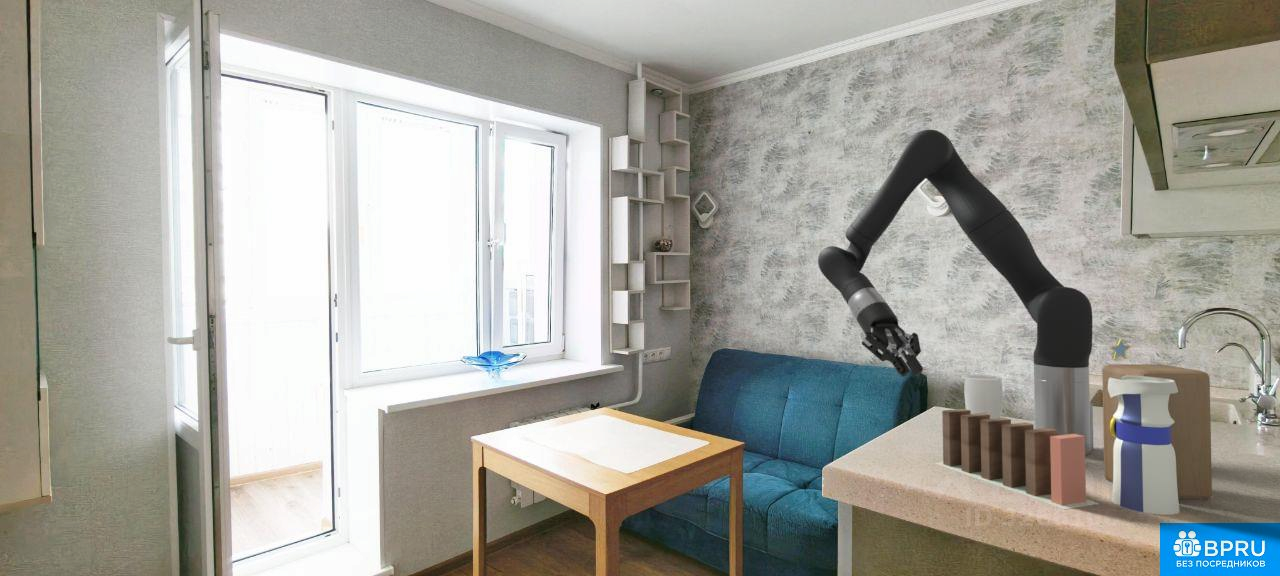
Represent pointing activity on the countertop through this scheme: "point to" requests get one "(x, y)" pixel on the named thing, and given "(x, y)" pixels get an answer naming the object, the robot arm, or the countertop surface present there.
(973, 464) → the domino
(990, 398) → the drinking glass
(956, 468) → the mat
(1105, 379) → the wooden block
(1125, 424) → the white and blue jug
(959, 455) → the domino
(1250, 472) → the countertop surface
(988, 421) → the domino
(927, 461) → the countertop surface
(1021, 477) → the domino
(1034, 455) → the domino
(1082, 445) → the domino
